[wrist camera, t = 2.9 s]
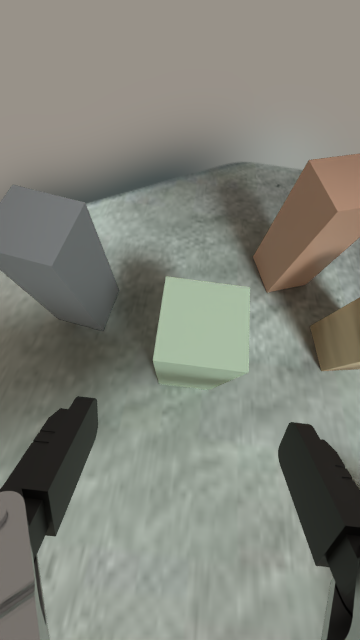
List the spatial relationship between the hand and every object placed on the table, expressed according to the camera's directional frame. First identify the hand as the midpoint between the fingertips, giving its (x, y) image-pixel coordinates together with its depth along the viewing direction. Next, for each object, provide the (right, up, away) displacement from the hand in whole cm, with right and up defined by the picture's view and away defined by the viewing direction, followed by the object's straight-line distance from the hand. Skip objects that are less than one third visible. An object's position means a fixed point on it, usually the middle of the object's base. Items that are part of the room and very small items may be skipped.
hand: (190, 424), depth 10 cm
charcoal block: (-8, +6, +11) cm, 15 cm away
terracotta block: (+9, +9, +13) cm, 19 cm away
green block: (0, +1, +10) cm, 10 cm away
